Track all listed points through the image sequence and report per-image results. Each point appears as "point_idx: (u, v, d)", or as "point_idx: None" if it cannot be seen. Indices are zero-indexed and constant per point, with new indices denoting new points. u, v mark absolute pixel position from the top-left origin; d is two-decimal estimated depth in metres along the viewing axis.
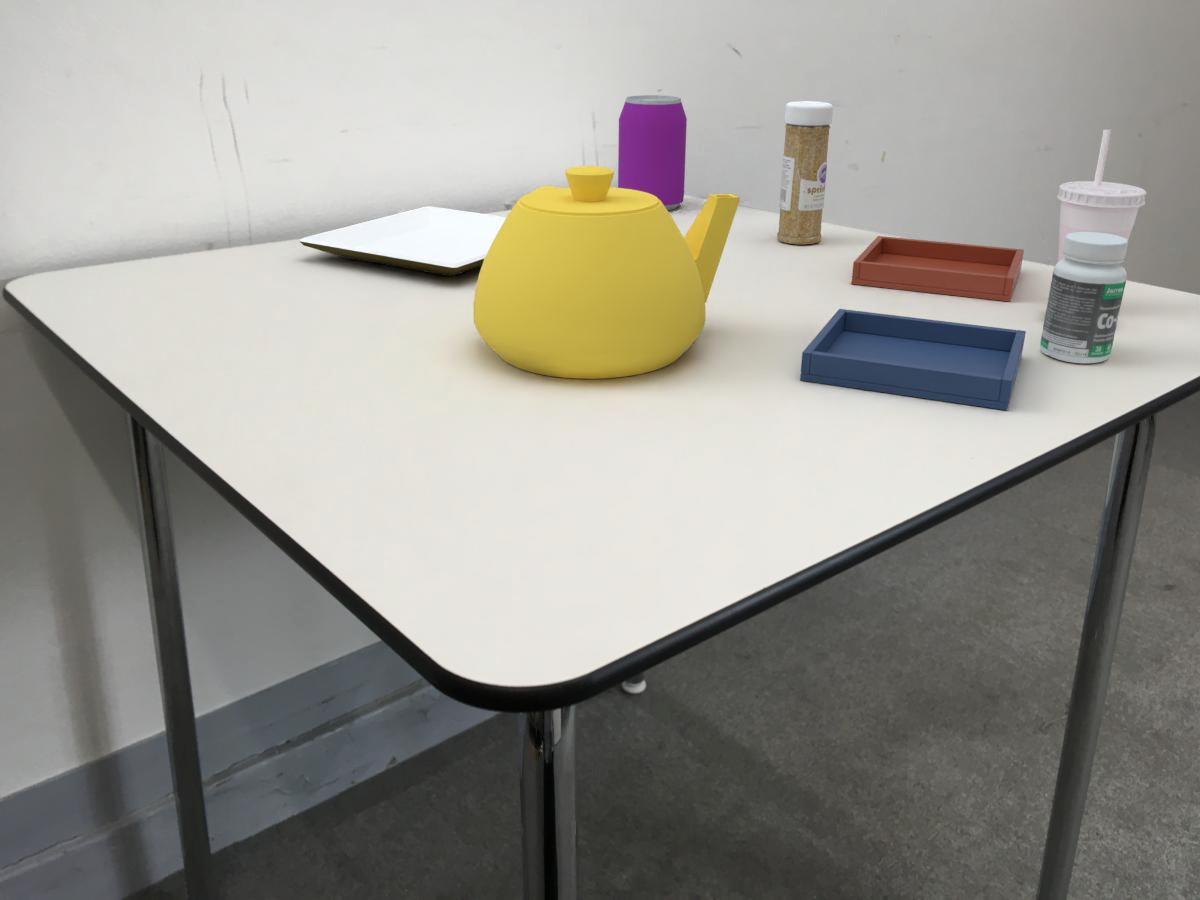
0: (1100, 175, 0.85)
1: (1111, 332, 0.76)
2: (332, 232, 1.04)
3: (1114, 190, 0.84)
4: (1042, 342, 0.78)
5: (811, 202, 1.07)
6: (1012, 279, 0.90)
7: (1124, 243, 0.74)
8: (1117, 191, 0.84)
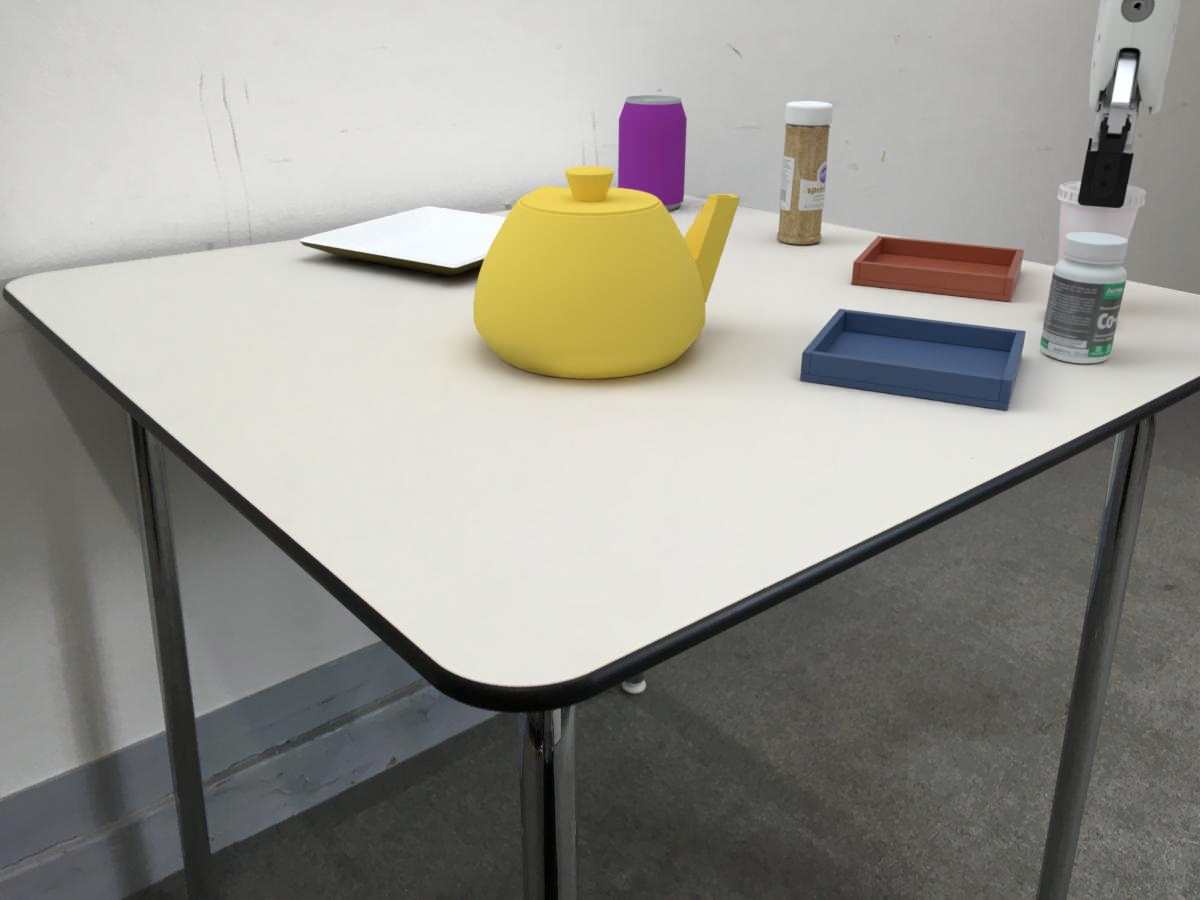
0: None
1: (1111, 332, 0.76)
2: (332, 232, 1.04)
3: None
4: (1042, 342, 0.78)
5: (811, 202, 1.07)
6: (1012, 279, 0.90)
7: (1124, 243, 0.74)
8: None
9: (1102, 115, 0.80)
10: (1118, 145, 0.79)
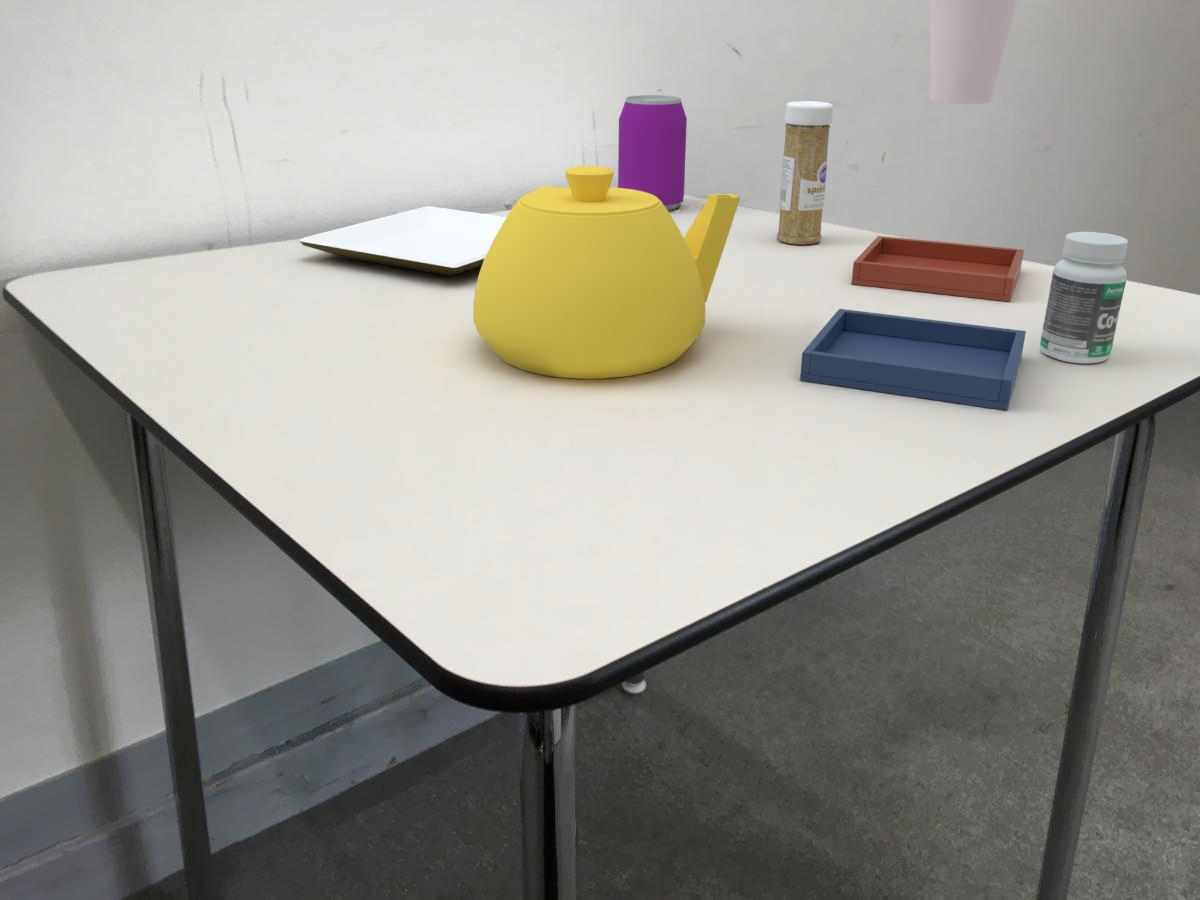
0: None
1: (1111, 332, 0.76)
2: (332, 232, 1.04)
3: None
4: (1042, 342, 0.78)
5: (811, 202, 1.07)
6: (1012, 279, 0.90)
7: (1124, 243, 0.74)
8: None
9: None
10: None
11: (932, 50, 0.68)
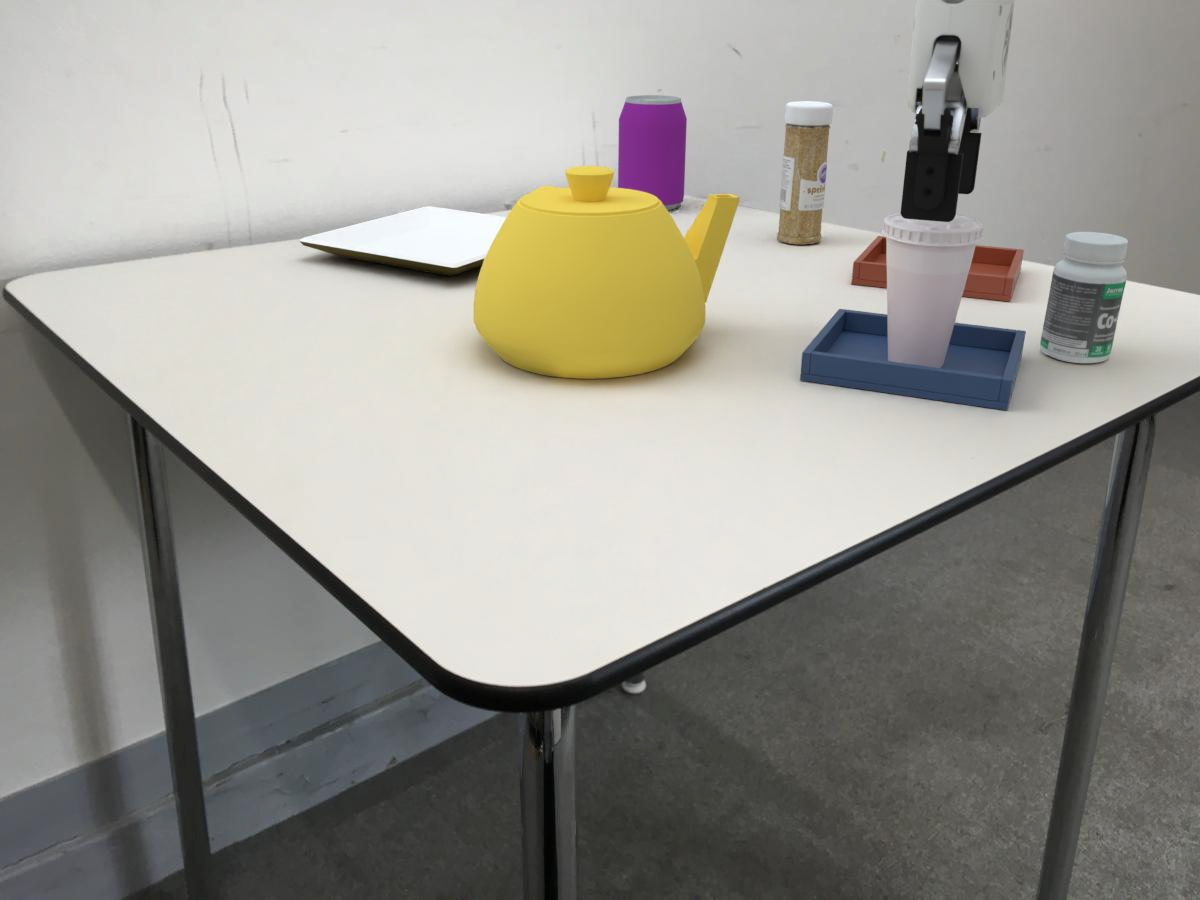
0: None
1: (1111, 332, 0.76)
2: (332, 232, 1.04)
3: (944, 224, 0.70)
4: (1042, 342, 0.78)
5: (811, 202, 1.07)
6: (1012, 279, 0.90)
7: (1124, 243, 0.74)
8: (947, 226, 0.70)
9: None
10: (940, 144, 0.63)
11: (889, 320, 0.74)
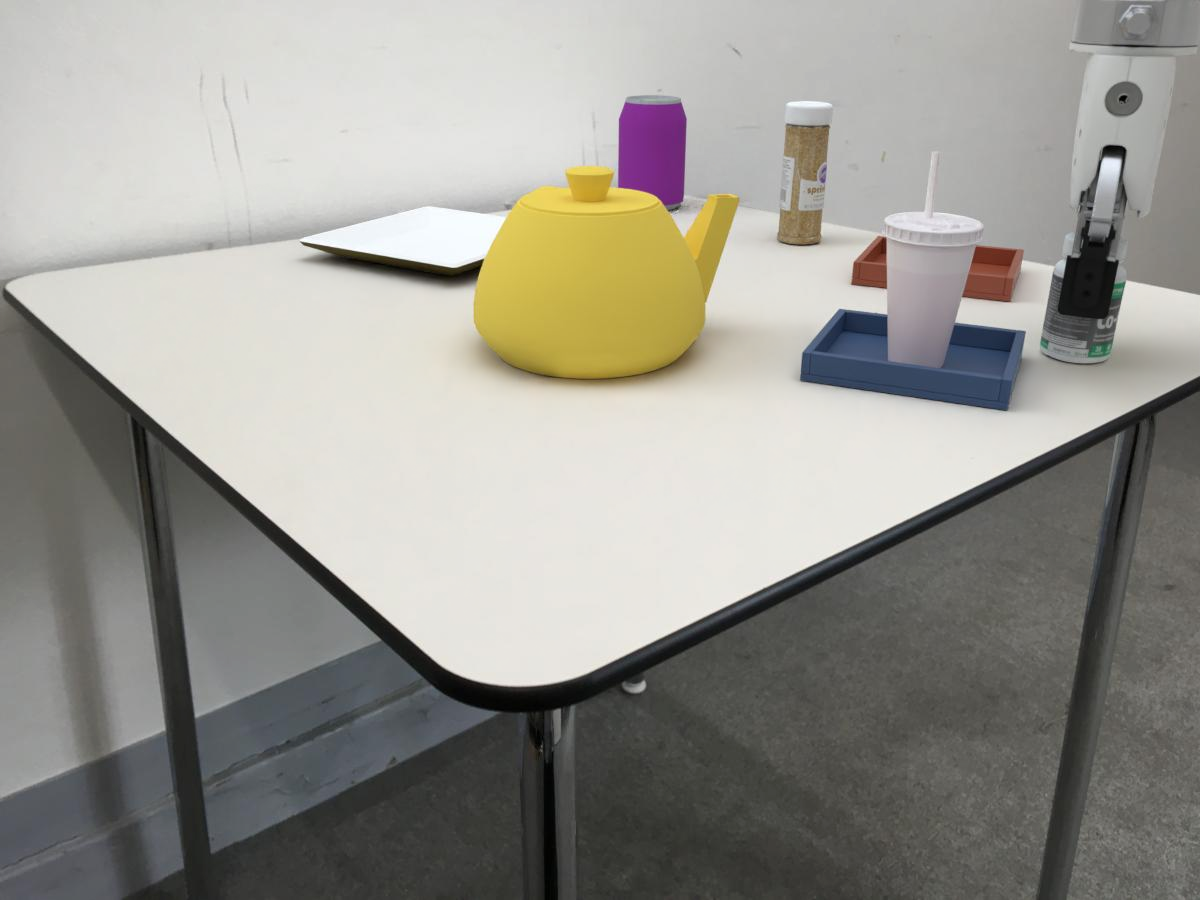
0: (930, 206, 0.71)
1: (1111, 332, 0.76)
2: (332, 232, 1.04)
3: (944, 225, 0.70)
4: (1042, 342, 0.78)
5: (811, 202, 1.07)
6: (1012, 279, 0.90)
7: (1124, 243, 0.74)
8: (947, 226, 0.70)
9: (1084, 219, 0.72)
10: (1101, 253, 0.71)
11: (889, 320, 0.74)
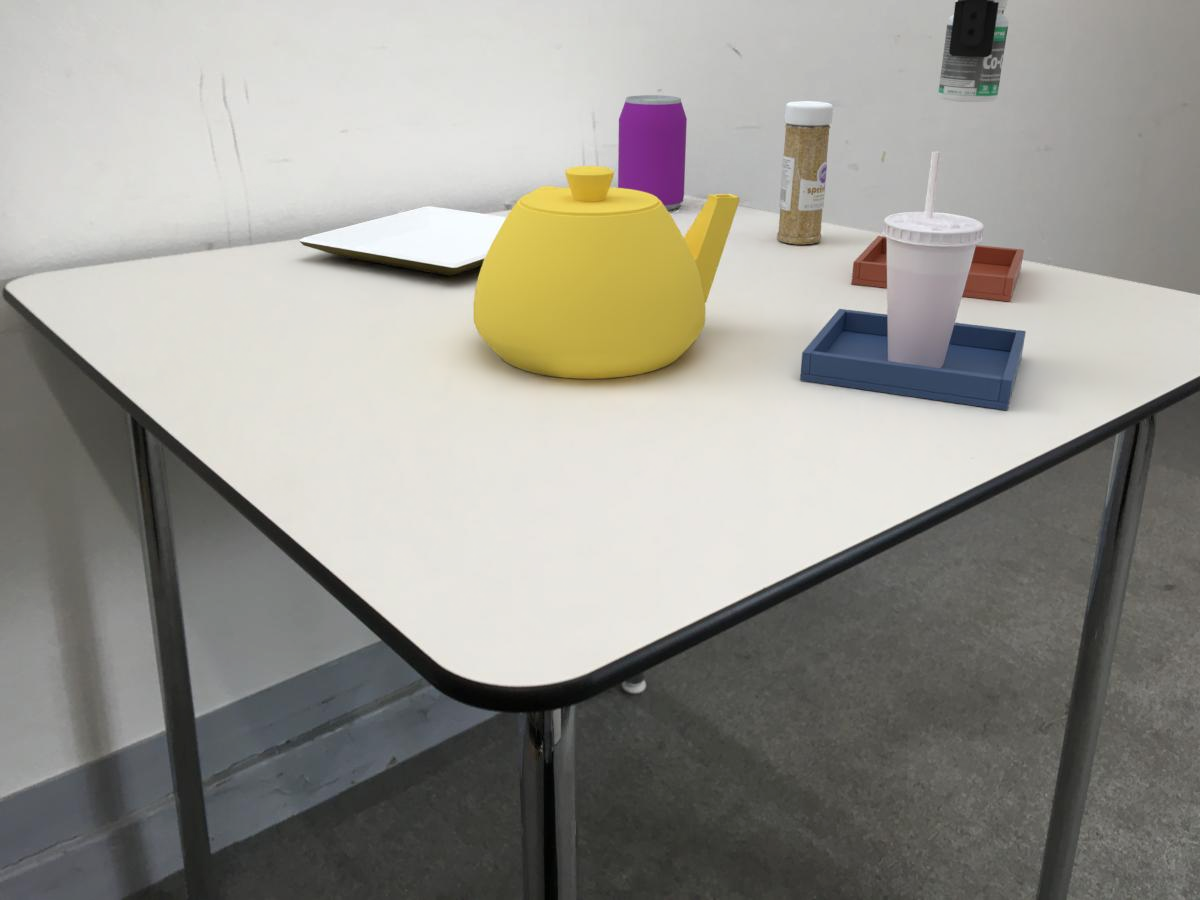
0: (930, 206, 0.71)
1: (996, 73, 0.88)
2: (332, 232, 1.04)
3: (944, 225, 0.70)
4: (939, 89, 0.91)
5: (811, 202, 1.07)
6: (1012, 279, 0.90)
7: None
8: (947, 226, 0.70)
9: None
10: None
11: (889, 320, 0.74)
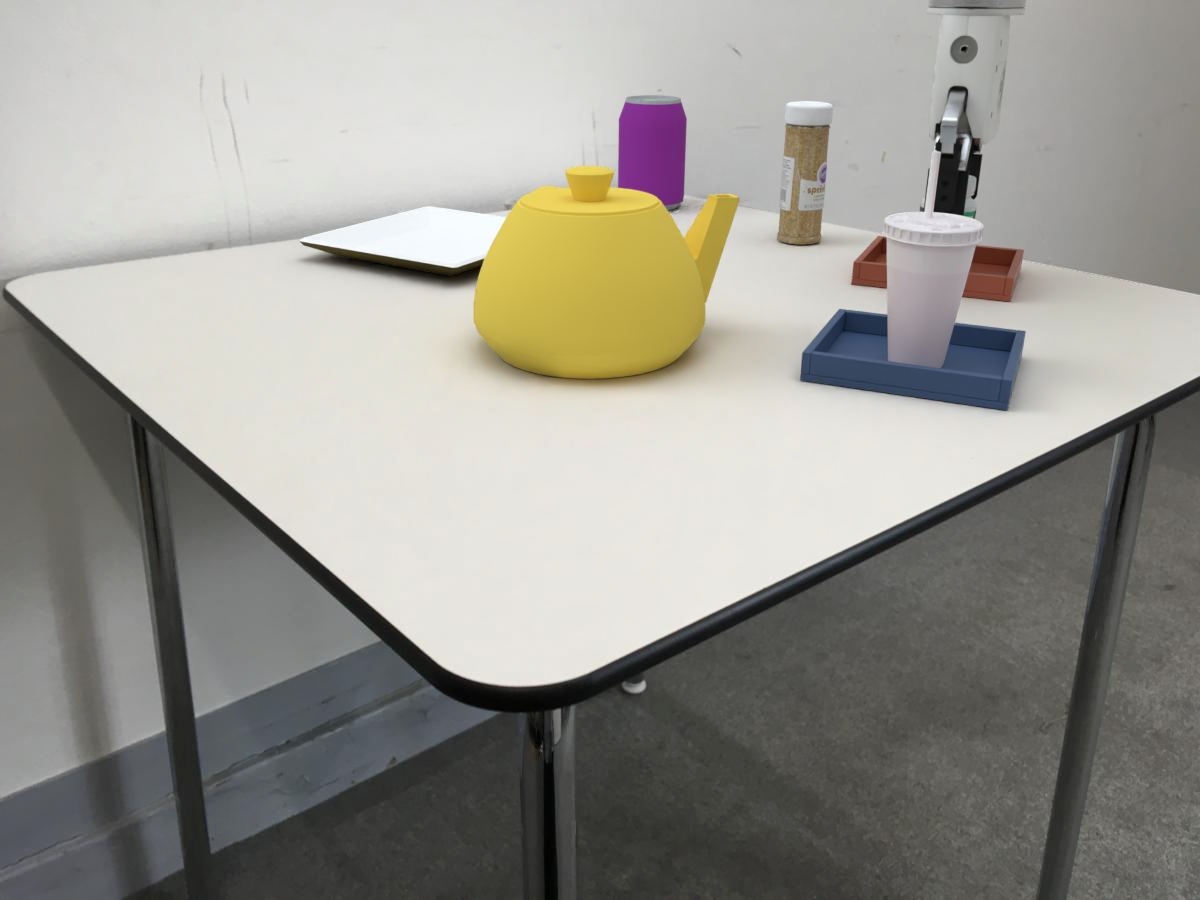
0: (930, 206, 0.71)
1: None
2: (332, 232, 1.04)
3: (944, 225, 0.70)
4: None
5: (811, 202, 1.07)
6: (1012, 279, 0.90)
7: (972, 180, 0.93)
8: (947, 226, 0.70)
9: None
10: (953, 164, 0.88)
11: (889, 320, 0.74)
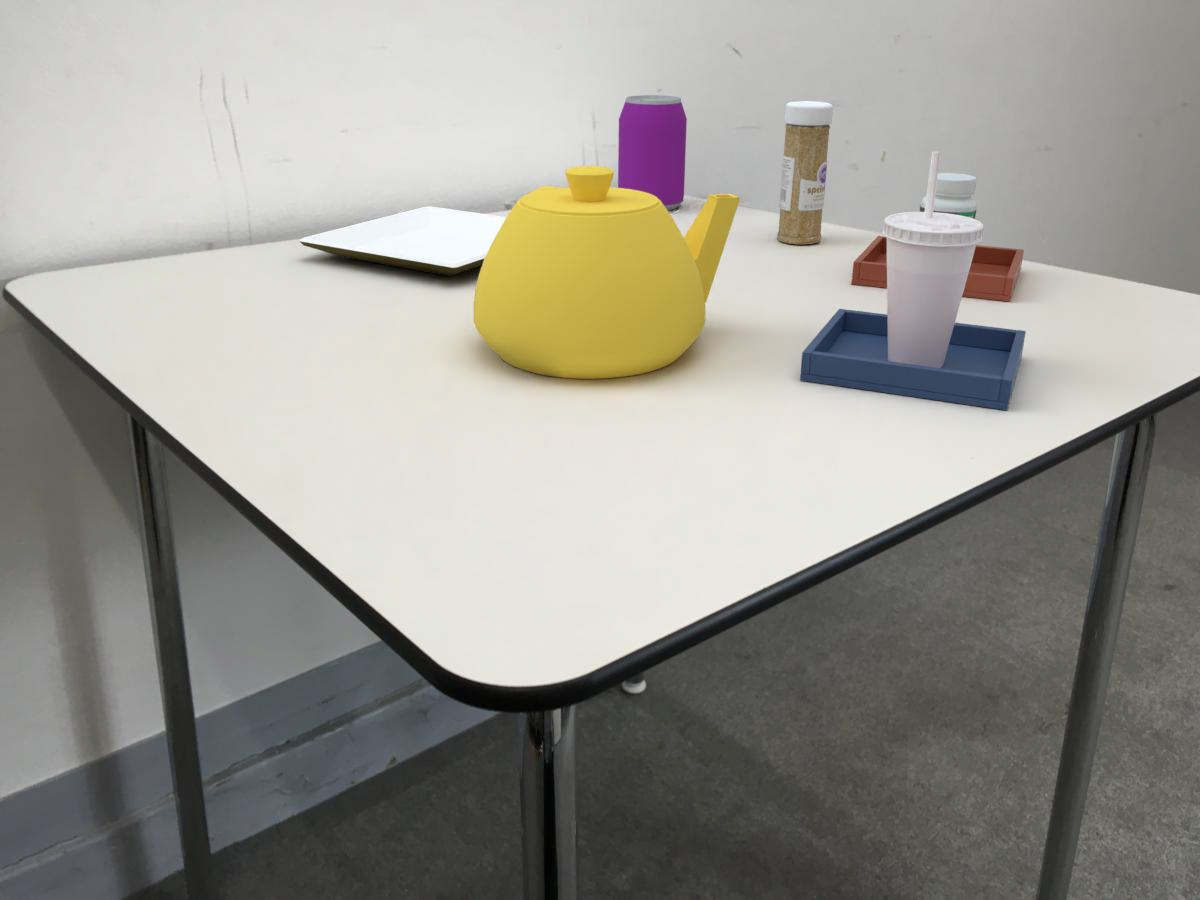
0: (930, 206, 0.71)
1: None
2: (332, 232, 1.04)
3: (944, 225, 0.70)
4: None
5: (811, 202, 1.07)
6: (1012, 279, 0.90)
7: (972, 180, 0.93)
8: (947, 226, 0.70)
9: None
10: None
11: (889, 320, 0.74)
